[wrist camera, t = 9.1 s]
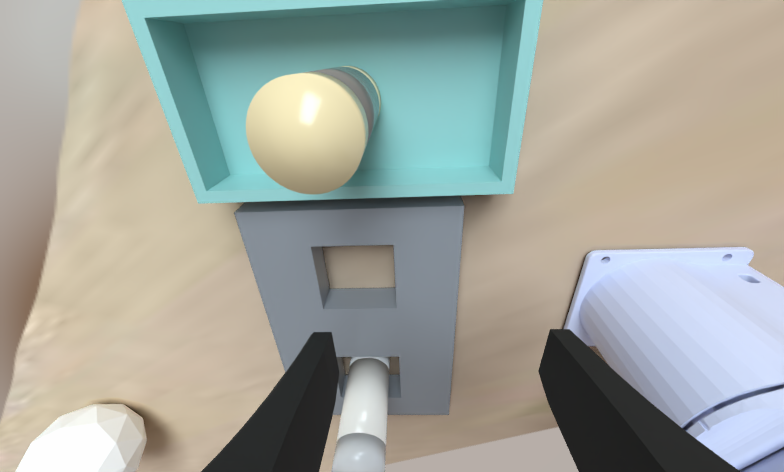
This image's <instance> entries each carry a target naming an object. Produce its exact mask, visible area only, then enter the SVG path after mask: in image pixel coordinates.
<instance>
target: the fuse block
mask: <svg viewBox="0 0 784 472" xmlns="http://www.w3.org/2000/svg"><path fill="white" fill-rule="evenodd" d="M234 214H235V217H236V220H237V223H238V226H239V229H240V233H241V236H242V239H243V242H244V245H245V248H246V251H247V254H248V257H249V261H250V264H251V267H252V270H253V273H254V276H255V279H256V282H257V285H258V288H259V292H260V295H261V298H262V301H263V304H264V307H265V310H266V313H267V316H268V320H269V323H270V326H271V329H272V332H273V335H274V338H275V341H276V344H277V347H278V351H279V354H280V357H281V360H282V363H283V366H284V369H285V372H286V371H287V370H288V368H289V367H290V365H291V364H292V363H293V361H294V360H295V358H296V357H297V355H298V354H299V352H300V351H301V349H302V348H303V346H304V345H305V343H306V342H307V340H308V339H309V337H310V336H311V334H312V333H313V332H332V336H333V342H334V347H335V352H336V357H337V362H338V367H339V379H338V387H337V395H336V402H335V407H334V411H333V415H341V413H342V408H343V402H344V396H345V390H346V384H347V379H348V375H345V371H344V365H343V360H342V357H397V356H399V366H400V375H389V389H388V412H387V415H449V405H450V392H451V378H452V365H453V352H454V338H455V325H456V311H457V298H458V284H459V271H460V258H461V244H462V231H463V217H464V204H463V201H462V199H461V197H460V195H455V196H423V197H391V198H358V199H326V200H294V201H261V202H245V203H244V204H243V205H242V206H241V207H240V208H239V209H238V210H236V211H235V212H234ZM360 245H394V265H395V285H396V288H349V289H330V288H329V282H328V277H327V271H326V266H325V260H324V255H323V249H322V246H360Z"/></svg>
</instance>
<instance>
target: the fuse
mask: <svg viewBox="0 0 784 472" xmlns="http://www.w3.org/2000/svg"><path fill="white" fill-rule="evenodd" d="M389 367H390V357H351V361H350V367H349V373H348V379H347V384H346V390H345V396H344V402H343V408H342V413H341V419H340V425H339V431H338V437H337V442H336V448H335V454H334V460H333V466H332V472H385V456H386V434H387V412H388V389H389Z"/></svg>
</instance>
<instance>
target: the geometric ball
mask: <svg viewBox="0 0 784 472" xmlns="http://www.w3.org/2000/svg"><path fill="white" fill-rule="evenodd" d="M146 442H147V437H146V432H145V427H144V421H143V418H142V417H141V416H139V415H138V414H137V413H135V412H134V411H133V410H131V409H130V408H128V407H127V406H126V405H124V404H92V405H89V406H86V407H84V408H81V409H78V410H75V411H73V412H70V413H67V414H64V415H62V416H60V417H59V418H58V419H57V420H56V421H54V422H53V423H52V424H51V425H50V426H49V427H48V428H47V429H46V430H45V431H44V432H43V433H41V434H40V435H39V436H38V437H37V438H36V439H35V440H34V441H33V442H32V443H31V444H30V446H29V448H28V450H27V452H26V453H25V455H24V457H23V459H22V461H21V462H20V464H19V466H18V468H17V470H16V472H135V471H136V470H137V469H138V467H139V464H140V461H141V457H142V454H143V451H144V448H145V445H146Z"/></svg>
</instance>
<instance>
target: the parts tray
mask: <svg viewBox="0 0 784 472" xmlns="http://www.w3.org/2000/svg"><path fill="white" fill-rule="evenodd" d="M122 2H123V5H124V8H125V10H126V13H127V16H128V18H129V21H130V24H131V26H132V29H133V32H134V34H135V37H136V40H137V42H138V45H139V48H140V50H141V53H142V55H143V58H144V61H145V63H146V66H147V69H148V71H149V74H150V77H151V79H152V82H153V85H154V87H155V90H156V93H157V95H158V98H159V100H160V103H161V106H162V108H163V111H164V114H165V116H166V119H167V122H168V124H169V127H170V130H171V132H172V135H173V138H174V140H175V143H176V146H177V148H178V151H179V153H180V156H181V159H182V161H183V164H184V167H185V169H186V172H187V175H188V177H189V180H190V183H191V185H192V188H193V191H194V193H195V196H196V198H197V201H198V203H229V202H261V201H294V200H326V199H358V198H391V197H423V196H455V195H488V194H513V192H514V185H515V179H516V173H517V166H518V160H519V153H520V147H521V140H522V134H523V127H524V121H525V114H526V108H527V101H528V95H529V88H530V82H531V76H532V69H533V63H534V56H535V50H536V43H537V37H538V30H539V24H540V17H541V11H542V4H543V0H122ZM340 66H355V67H358V68H360V69H362V70H364V71H366V72H367V73H368V74H369V75H370V76H371V77H372V78H373V79H374V80H375V82H376V84H377V86H378V88H379V90H380V94H381V110H380V113H379V116H378V118H377V121H376V123H375V126H374V128H373V131H372V133H371V136H370V138H369V141H368V143H367V146H366V148H365V151H364V153H363V156H362V158H361V161H360V163H359V166H358V168H357V170H356V171H355V173H354V174H353V176H352V177H351V178H350V179H349V180H348V181H347V182H346V183H345V184H344V185H342V186H341V187H339V188H337V189H335V190H333V191H330V192H328V193H323V194H302V193H298V192H294V191H292V190H289V189H287V188H285V187H283V186H281V185H279V184H278V183H276V182H275V181H274V180H272V179H271V178H270V177H269V176H268V175H267V174H266V173H265V172H264V171H263V170H262V169H261V167H260V166H259V165H258V163H257V162H256V160H255V158H254V157H253V154H252V152H251V150H250V147H249V144H248V140H247V135H246V117H247V111H248V108H249V106H250V103H251V101H252V99H253V97H254V96H255V95H256V93H257V92H258V91H259V90H260V89H261V88H262V87H263V86H264V85H265V84H267V83H268V82H270V81H271V80H273V79H275V78H278V77H281V76H285V75H290V74H297V73H303V72H309V71H315V70H322V69H328V68H334V67H340Z"/></svg>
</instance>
